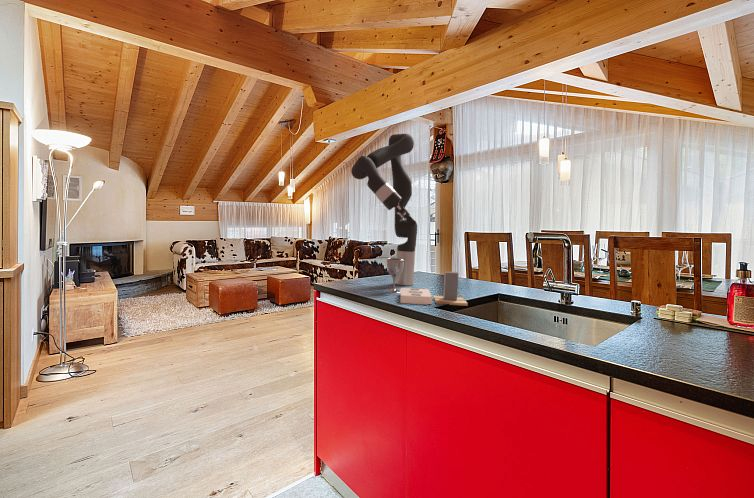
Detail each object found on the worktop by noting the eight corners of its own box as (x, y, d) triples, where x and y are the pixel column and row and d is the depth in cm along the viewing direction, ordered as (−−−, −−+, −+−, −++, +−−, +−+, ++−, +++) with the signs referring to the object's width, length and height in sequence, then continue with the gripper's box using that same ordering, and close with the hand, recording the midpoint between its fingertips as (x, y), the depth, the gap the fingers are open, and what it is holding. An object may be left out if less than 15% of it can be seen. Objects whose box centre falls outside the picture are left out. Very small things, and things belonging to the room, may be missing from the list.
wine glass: (382, 290, 171) (383, 257, 170) (397, 289, 175) (399, 257, 174) (390, 293, 164) (391, 259, 163) (405, 292, 167) (407, 259, 166)
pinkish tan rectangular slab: (400, 294, 162) (400, 287, 162) (428, 296, 161) (428, 288, 161) (400, 302, 144) (400, 294, 144) (431, 304, 143) (431, 296, 143)
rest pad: (433, 297, 158) (433, 295, 158) (462, 299, 157) (462, 297, 157) (436, 304, 145) (436, 301, 145) (467, 305, 144) (467, 303, 144)
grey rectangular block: (443, 298, 153) (444, 271, 152) (455, 298, 153) (456, 272, 152) (444, 299, 149) (445, 272, 148) (456, 300, 149) (458, 273, 148)
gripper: (394, 188, 150) (421, 218, 150) (395, 191, 164) (419, 219, 164) (380, 201, 150) (407, 230, 150) (382, 203, 164) (407, 230, 164)
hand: (414, 224), depth 157 cm, fingers open, 8 cm apart
